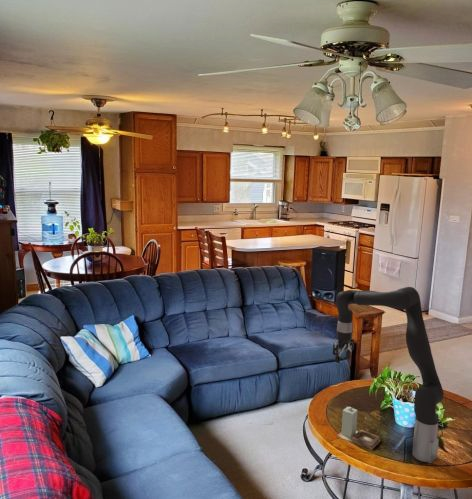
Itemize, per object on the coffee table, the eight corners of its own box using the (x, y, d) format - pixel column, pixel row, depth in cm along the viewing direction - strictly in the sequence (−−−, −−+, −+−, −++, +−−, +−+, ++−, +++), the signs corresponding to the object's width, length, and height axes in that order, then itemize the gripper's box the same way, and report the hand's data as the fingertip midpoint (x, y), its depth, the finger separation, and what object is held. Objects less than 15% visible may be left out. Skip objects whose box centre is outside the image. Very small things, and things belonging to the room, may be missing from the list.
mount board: (380, 442, 208) (380, 436, 207) (371, 452, 200) (371, 446, 200) (346, 429, 219) (346, 423, 218) (336, 438, 211) (337, 432, 211)
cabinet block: (355, 433, 213) (357, 407, 211) (351, 438, 209) (352, 411, 207) (346, 429, 216) (347, 404, 214) (341, 434, 212) (342, 407, 210)
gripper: (342, 334, 218) (340, 366, 221) (359, 329, 227) (357, 359, 230) (329, 330, 224) (327, 361, 226) (347, 325, 233) (345, 355, 235)
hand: (342, 360), depth 228 cm, fingers open, 8 cm apart
